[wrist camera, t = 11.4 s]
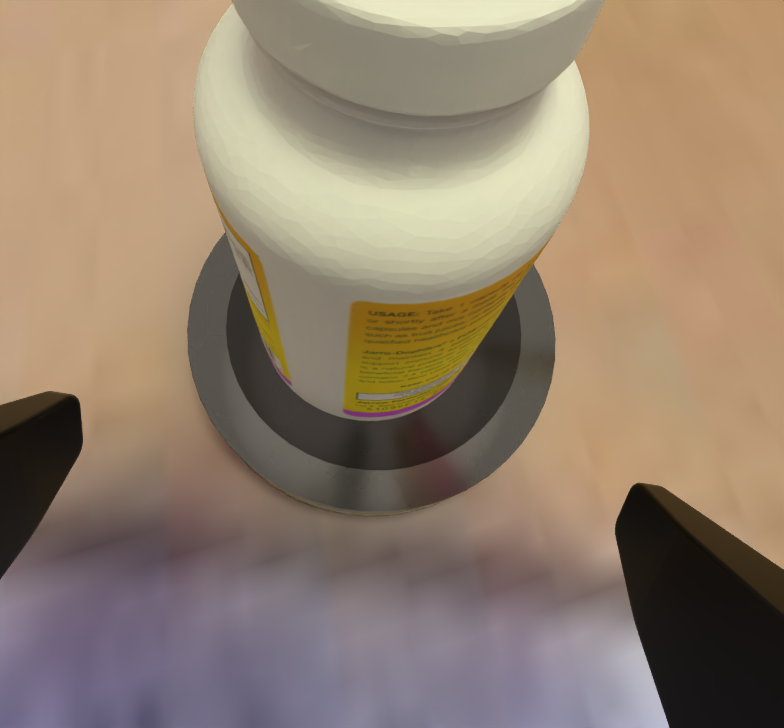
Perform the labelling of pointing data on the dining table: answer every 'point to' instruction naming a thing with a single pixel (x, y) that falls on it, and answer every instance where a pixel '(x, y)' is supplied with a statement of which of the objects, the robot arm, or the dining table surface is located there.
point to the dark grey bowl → (368, 438)
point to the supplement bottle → (389, 178)
